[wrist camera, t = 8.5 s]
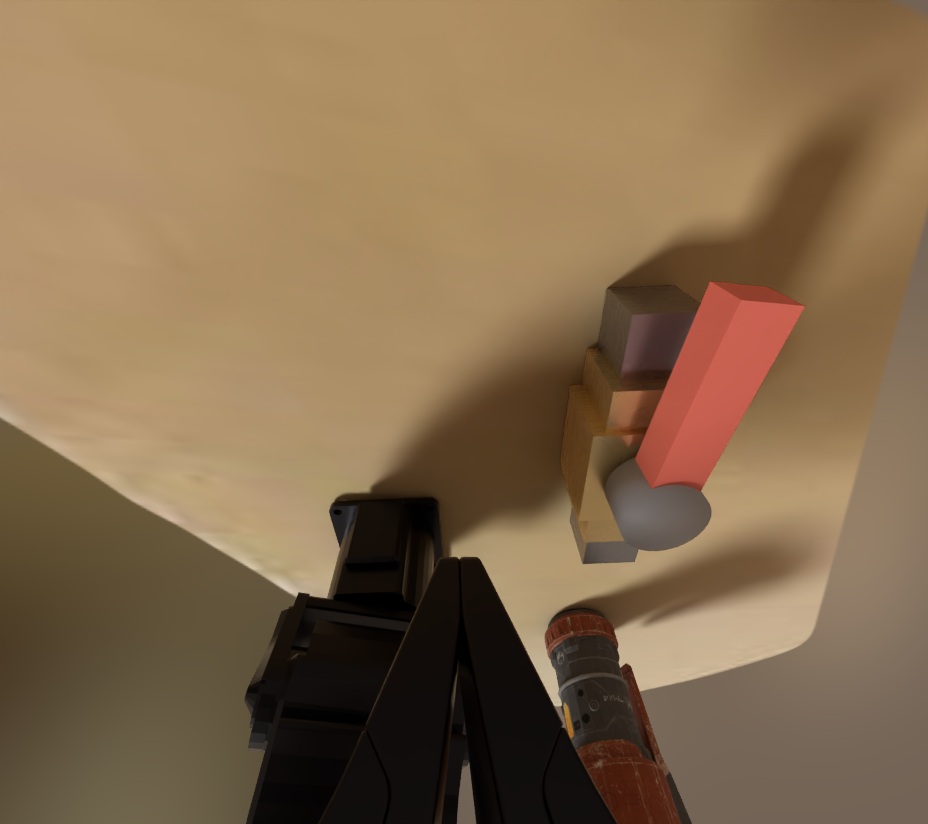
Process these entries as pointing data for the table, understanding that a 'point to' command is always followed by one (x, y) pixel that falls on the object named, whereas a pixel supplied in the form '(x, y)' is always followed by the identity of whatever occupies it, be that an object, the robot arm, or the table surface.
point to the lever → (699, 414)
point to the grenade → (610, 721)
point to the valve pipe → (619, 405)
